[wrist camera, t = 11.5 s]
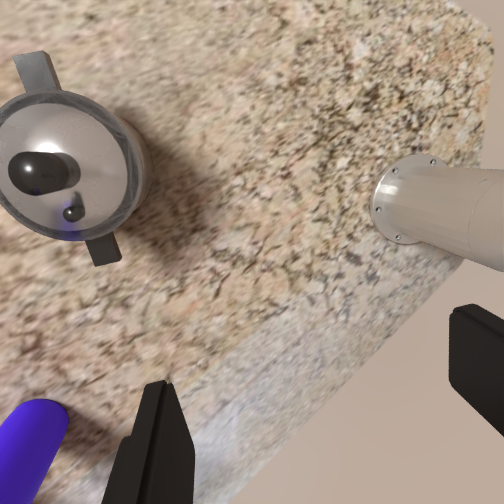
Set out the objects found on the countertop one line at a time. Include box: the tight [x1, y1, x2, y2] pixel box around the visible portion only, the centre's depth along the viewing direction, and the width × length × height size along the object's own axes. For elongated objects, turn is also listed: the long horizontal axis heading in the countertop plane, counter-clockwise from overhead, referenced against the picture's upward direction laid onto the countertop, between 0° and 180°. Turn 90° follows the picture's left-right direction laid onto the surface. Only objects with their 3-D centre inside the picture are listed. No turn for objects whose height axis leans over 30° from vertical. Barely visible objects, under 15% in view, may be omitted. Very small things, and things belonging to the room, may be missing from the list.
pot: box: [0, 51, 153, 267], centre depth 33 cm, size 14×20×9 cm
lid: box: [0, 103, 129, 231], centre depth 26 cm, size 11×11×6 cm
